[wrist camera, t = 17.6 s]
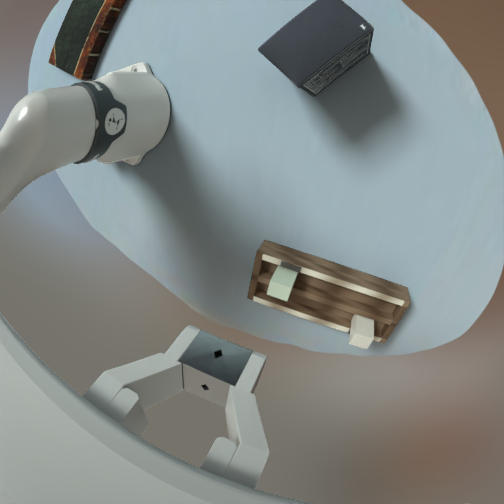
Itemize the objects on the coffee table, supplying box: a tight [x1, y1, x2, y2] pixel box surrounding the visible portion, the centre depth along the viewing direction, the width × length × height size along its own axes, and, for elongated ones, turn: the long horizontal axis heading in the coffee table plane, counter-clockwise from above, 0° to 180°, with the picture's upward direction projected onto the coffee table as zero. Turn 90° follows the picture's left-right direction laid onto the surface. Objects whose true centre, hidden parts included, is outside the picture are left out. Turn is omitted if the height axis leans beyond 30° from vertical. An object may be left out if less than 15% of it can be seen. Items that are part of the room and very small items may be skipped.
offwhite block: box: [349, 314, 374, 349], centre depth 38 cm, size 3×2×6 cm
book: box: [49, 0, 126, 80], centre depth 31 cm, size 17×4×25 cm
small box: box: [258, 0, 374, 96], centre depth 23 cm, size 11×6×10 cm, turn 135°
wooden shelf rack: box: [247, 240, 410, 343], centre depth 41 cm, size 24×9×4 cm, turn 81°
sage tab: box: [267, 265, 298, 301], centre depth 39 cm, size 3×2×6 cm
